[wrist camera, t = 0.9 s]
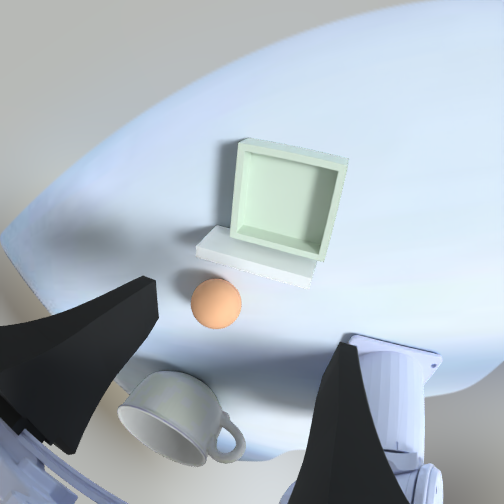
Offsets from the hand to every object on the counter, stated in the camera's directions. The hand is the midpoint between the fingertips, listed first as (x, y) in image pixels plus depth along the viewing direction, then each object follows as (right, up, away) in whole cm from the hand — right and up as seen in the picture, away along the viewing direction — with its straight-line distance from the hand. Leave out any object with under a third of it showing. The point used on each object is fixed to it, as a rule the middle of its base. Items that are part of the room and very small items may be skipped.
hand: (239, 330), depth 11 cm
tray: (+3, +6, +7) cm, 10 cm away
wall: (+1, +3, +9) cm, 10 cm away
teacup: (-5, -13, +22) cm, 26 cm away
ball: (-2, -1, +11) cm, 11 cm away
